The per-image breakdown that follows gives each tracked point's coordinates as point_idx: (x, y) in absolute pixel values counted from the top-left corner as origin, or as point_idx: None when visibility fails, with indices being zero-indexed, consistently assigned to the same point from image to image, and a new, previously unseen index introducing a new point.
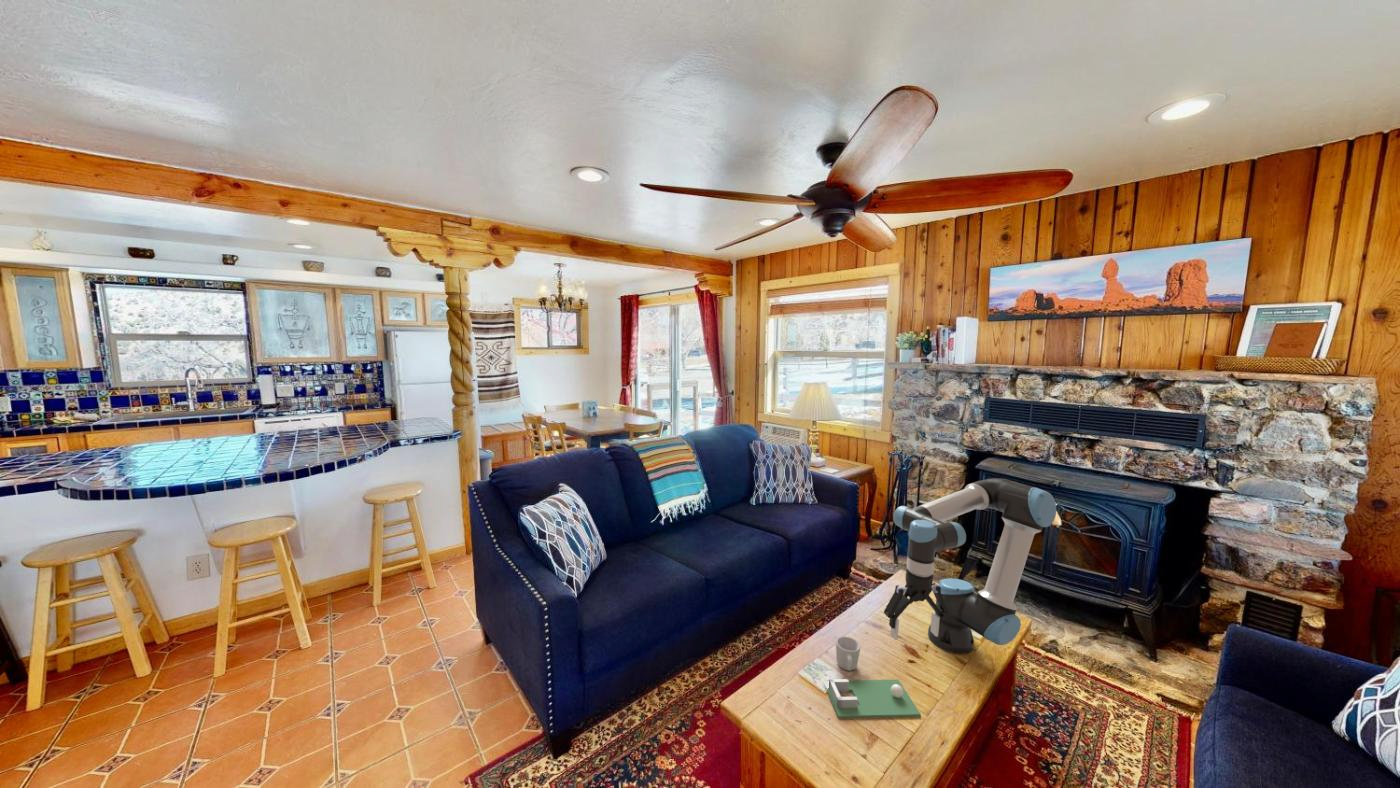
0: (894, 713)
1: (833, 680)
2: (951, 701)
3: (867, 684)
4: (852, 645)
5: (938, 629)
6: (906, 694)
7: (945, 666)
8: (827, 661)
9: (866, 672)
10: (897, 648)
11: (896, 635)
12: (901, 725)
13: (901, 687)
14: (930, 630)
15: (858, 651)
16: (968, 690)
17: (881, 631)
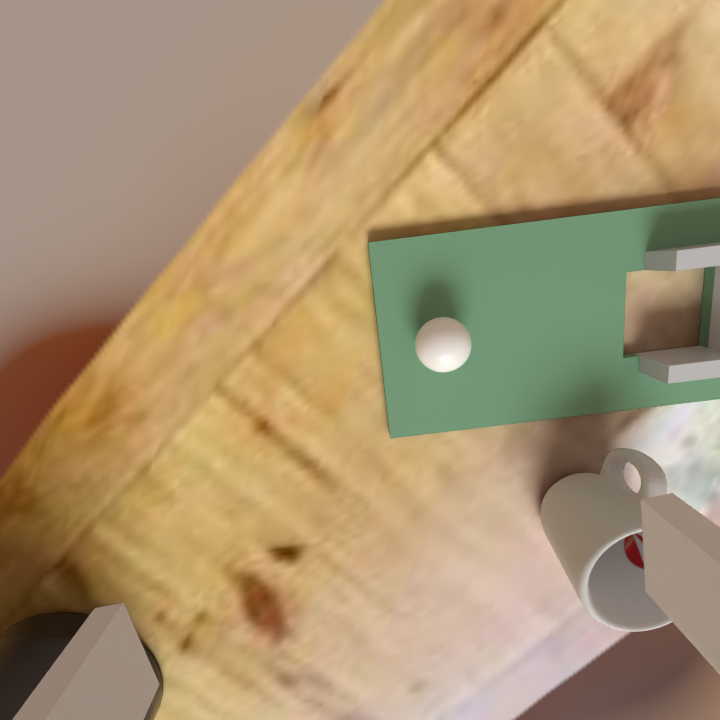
0: (488, 234)
1: None
2: (197, 345)
3: (540, 395)
4: (588, 584)
5: (21, 709)
6: (387, 354)
7: (150, 539)
8: None
9: (506, 471)
10: (319, 616)
11: (715, 534)
12: (473, 183)
13: (426, 349)
14: (154, 692)
15: (603, 534)
16: (99, 416)
17: (351, 700)
